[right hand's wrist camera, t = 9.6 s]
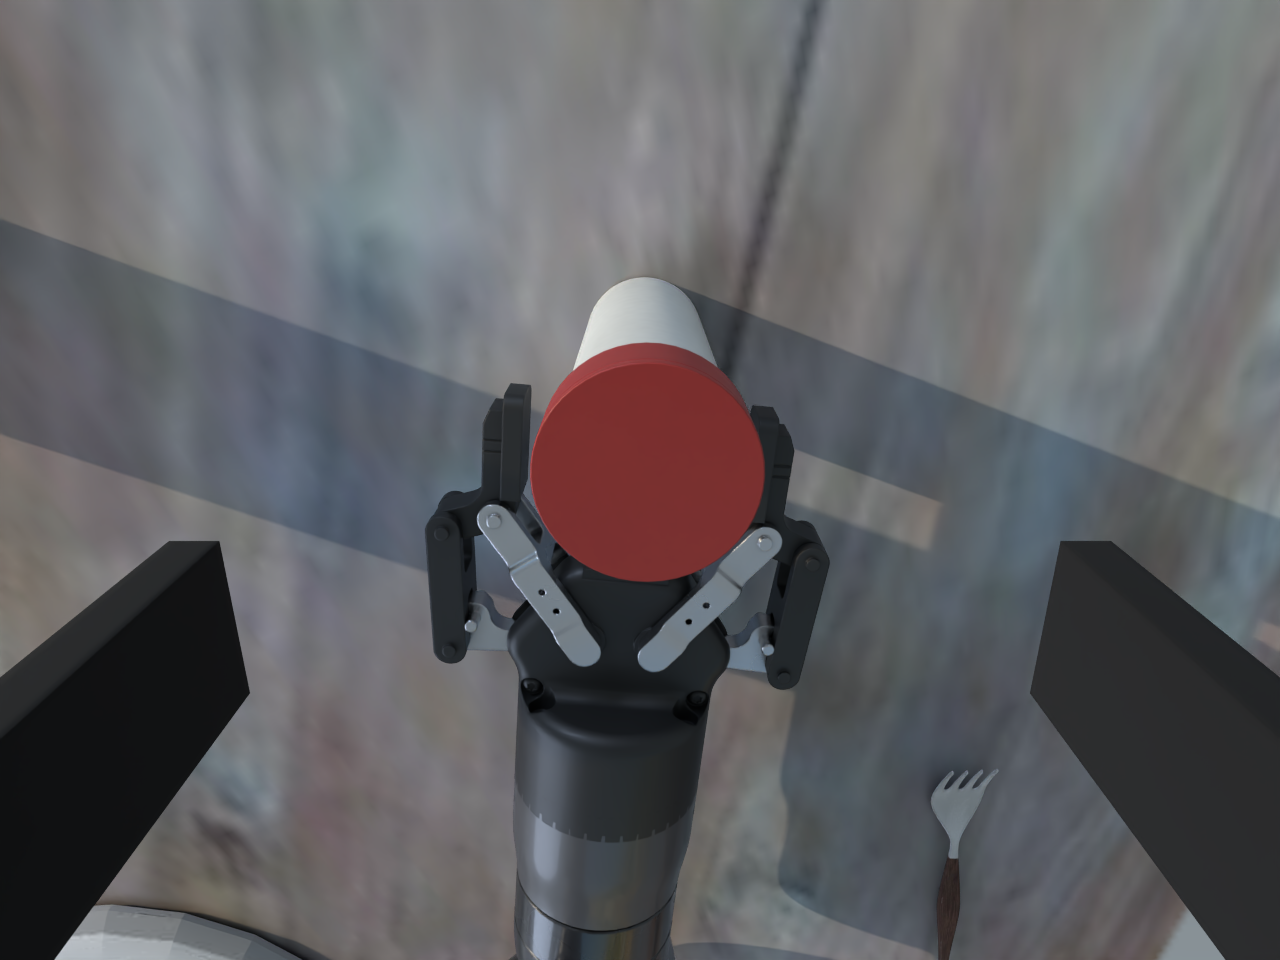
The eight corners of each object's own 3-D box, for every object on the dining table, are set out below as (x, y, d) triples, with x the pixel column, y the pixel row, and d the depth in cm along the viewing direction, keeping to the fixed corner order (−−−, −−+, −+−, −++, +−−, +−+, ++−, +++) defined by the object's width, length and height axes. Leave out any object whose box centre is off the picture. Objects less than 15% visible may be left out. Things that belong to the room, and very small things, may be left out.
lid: (687, 300, 20) (692, 316, 18) (790, 482, 21) (805, 516, 19) (499, 411, 21) (483, 438, 19) (611, 576, 22) (608, 618, 20)
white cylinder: (665, 254, 33) (686, 333, 18) (721, 355, 34) (783, 504, 20) (566, 314, 34) (507, 437, 19) (624, 410, 35) (613, 593, 20)
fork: (914, 973, 47) (925, 1006, 45) (934, 745, 41) (948, 772, 40) (960, 971, 47) (973, 1005, 45) (987, 742, 41) (1003, 770, 40)
